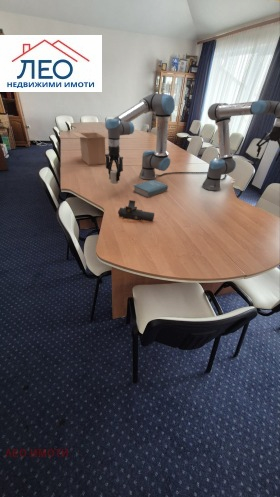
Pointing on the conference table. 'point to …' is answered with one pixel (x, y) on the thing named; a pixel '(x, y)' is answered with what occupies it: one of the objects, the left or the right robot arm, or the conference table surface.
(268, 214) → the conference table surface
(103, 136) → the box
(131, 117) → the left robot arm
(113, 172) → the can
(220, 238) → the conference table surface
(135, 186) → the book
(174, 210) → the conference table surface
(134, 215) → the laser sight
